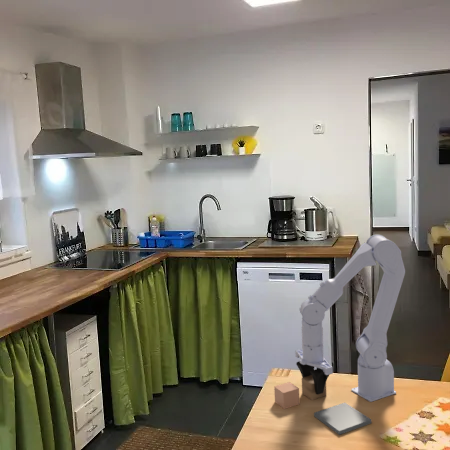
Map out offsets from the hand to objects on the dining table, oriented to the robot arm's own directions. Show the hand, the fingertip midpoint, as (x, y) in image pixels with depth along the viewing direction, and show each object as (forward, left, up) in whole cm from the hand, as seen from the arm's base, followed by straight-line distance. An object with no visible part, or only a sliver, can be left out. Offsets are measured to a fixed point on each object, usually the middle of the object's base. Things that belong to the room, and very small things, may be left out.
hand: (314, 389), depth 139 cm
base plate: (+2, +15, -1) cm, 15 cm away
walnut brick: (0, 0, -1) cm, 1 cm away
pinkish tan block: (+9, 0, -2) cm, 9 cm away
